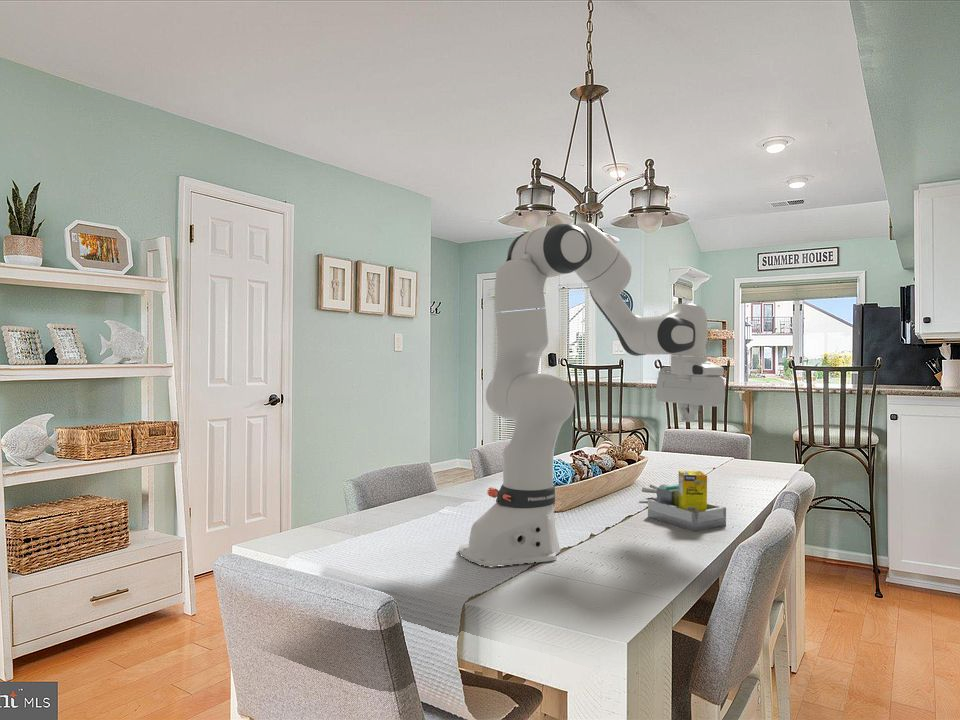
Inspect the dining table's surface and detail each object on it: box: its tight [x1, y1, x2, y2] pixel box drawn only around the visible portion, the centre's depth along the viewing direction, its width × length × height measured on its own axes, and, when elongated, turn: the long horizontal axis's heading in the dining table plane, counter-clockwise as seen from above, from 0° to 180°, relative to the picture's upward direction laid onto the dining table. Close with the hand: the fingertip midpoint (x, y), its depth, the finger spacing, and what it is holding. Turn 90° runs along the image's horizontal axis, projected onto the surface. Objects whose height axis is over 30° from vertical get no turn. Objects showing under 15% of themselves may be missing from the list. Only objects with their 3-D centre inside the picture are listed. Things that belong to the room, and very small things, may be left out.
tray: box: [647, 483, 727, 532], centre depth 169 cm, size 11×16×8 cm
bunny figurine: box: [641, 482, 677, 495], centre depth 191 cm, size 10×5×15 cm
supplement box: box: [678, 470, 708, 511], centre depth 167 cm, size 6×6×11 cm
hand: (688, 421), depth 167 cm, fingers closed
